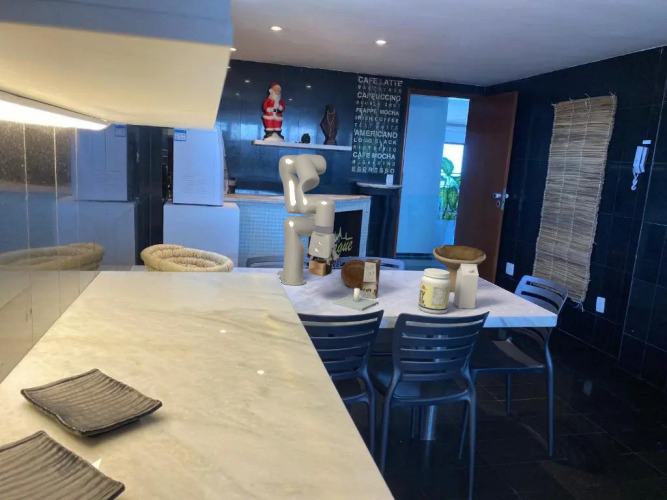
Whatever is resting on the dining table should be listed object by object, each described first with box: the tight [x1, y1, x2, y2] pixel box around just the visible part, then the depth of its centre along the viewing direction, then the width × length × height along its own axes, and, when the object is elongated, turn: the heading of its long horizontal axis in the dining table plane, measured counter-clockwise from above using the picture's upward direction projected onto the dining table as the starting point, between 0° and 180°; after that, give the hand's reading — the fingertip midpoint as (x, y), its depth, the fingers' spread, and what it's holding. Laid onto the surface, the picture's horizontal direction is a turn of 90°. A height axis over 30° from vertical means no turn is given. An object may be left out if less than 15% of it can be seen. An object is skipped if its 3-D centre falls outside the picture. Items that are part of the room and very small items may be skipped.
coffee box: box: [361, 258, 382, 300], centre depth 225 cm, size 9×6×16 cm
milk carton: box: [453, 264, 480, 310], centre depth 218 cm, size 7×7×19 cm
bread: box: [340, 259, 365, 291], centre depth 246 cm, size 16×29×11 cm, turn 4°
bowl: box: [432, 244, 487, 293], centre depth 248 cm, size 26×25×20 cm
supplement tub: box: [417, 267, 451, 315], centre depth 209 cm, size 12×12×17 cm
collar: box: [308, 258, 334, 277], centre depth 208 cm, size 7×7×5 cm
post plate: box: [332, 288, 379, 312], centre depth 211 cm, size 14×14×6 cm
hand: (320, 271), depth 208 cm, fingers closed on collar, 7 cm apart
